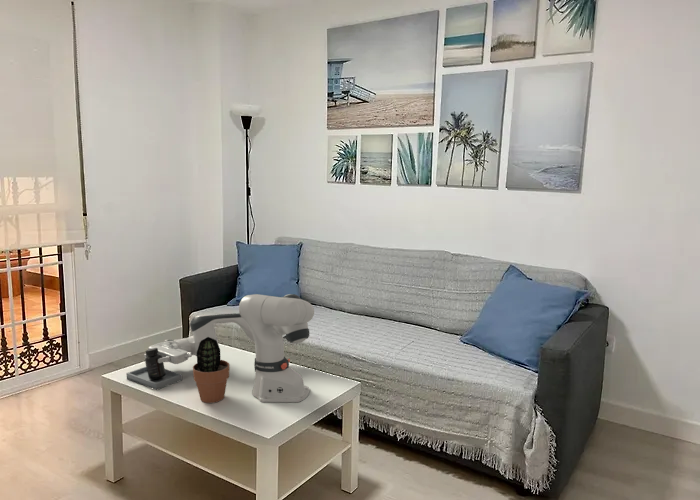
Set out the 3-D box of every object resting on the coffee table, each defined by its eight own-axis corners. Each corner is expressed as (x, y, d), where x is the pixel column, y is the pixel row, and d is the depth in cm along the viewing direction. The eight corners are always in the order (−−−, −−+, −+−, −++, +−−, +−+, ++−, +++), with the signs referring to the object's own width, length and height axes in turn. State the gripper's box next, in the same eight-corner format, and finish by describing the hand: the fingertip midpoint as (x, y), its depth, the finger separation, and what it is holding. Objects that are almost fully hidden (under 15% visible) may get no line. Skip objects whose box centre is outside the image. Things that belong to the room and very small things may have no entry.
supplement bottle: (151, 377, 226) (145, 349, 226) (167, 373, 227) (161, 346, 227) (147, 381, 219) (141, 352, 219) (164, 377, 220) (158, 349, 220)
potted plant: (237, 395, 210) (236, 333, 206) (213, 408, 198) (211, 343, 194) (211, 388, 216) (208, 328, 212) (186, 401, 204) (183, 337, 201)
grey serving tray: (181, 380, 224) (181, 374, 224) (156, 390, 214) (156, 384, 214) (152, 369, 236) (152, 364, 235) (126, 378, 226) (126, 373, 225)
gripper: (194, 362, 228) (166, 371, 217) (165, 352, 240) (137, 360, 229) (194, 347, 227) (166, 356, 216) (165, 338, 239) (137, 346, 228)
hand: (151, 358), depth 223 cm, fingers open, 7 cm apart
